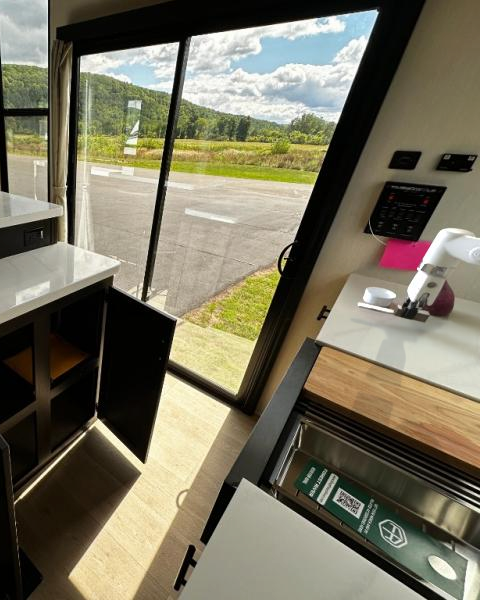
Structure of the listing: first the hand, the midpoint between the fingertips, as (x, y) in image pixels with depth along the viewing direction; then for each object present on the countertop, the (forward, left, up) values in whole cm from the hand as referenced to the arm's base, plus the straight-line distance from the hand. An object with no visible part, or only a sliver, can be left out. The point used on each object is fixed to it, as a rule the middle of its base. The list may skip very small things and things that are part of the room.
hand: (405, 315), depth 109 cm
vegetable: (-10, -17, -4) cm, 20 cm away
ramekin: (+6, -13, -4) cm, 15 cm away
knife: (+4, 0, 0) cm, 4 cm away
